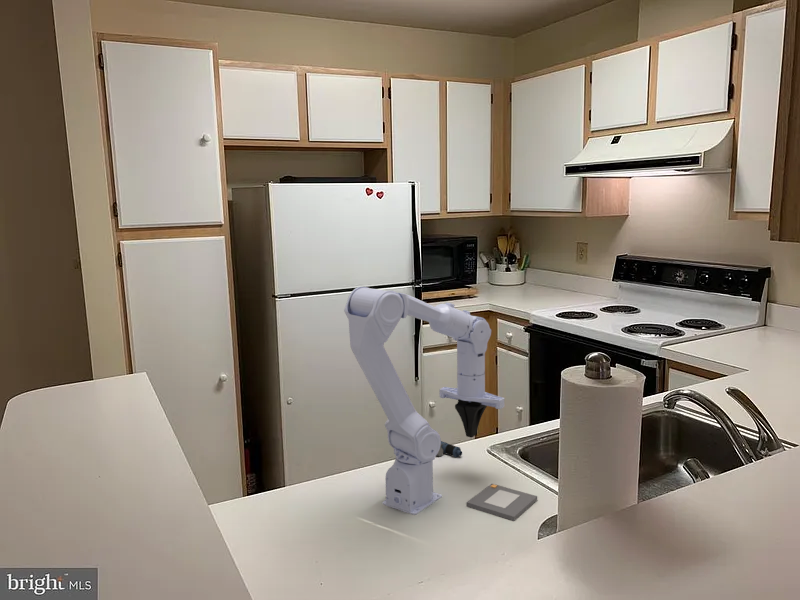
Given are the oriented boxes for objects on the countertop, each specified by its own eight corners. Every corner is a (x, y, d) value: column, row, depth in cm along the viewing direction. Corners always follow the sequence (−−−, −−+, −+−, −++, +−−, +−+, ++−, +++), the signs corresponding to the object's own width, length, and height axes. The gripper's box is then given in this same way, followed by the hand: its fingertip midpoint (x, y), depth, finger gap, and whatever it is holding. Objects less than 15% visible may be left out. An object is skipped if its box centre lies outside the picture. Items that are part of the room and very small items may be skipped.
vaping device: (426, 444, 151) (464, 457, 143) (411, 450, 147) (449, 463, 139) (425, 433, 151) (464, 446, 142) (410, 439, 147) (449, 452, 139)
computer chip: (513, 520, 113) (513, 515, 113) (466, 506, 119) (466, 501, 119) (537, 500, 121) (537, 495, 121) (491, 487, 127) (491, 482, 127)
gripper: (511, 373, 127) (511, 436, 129) (451, 364, 136) (452, 423, 138) (495, 381, 122) (494, 447, 124) (433, 371, 131) (434, 432, 132)
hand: (471, 435), depth 131 cm, fingers closed
